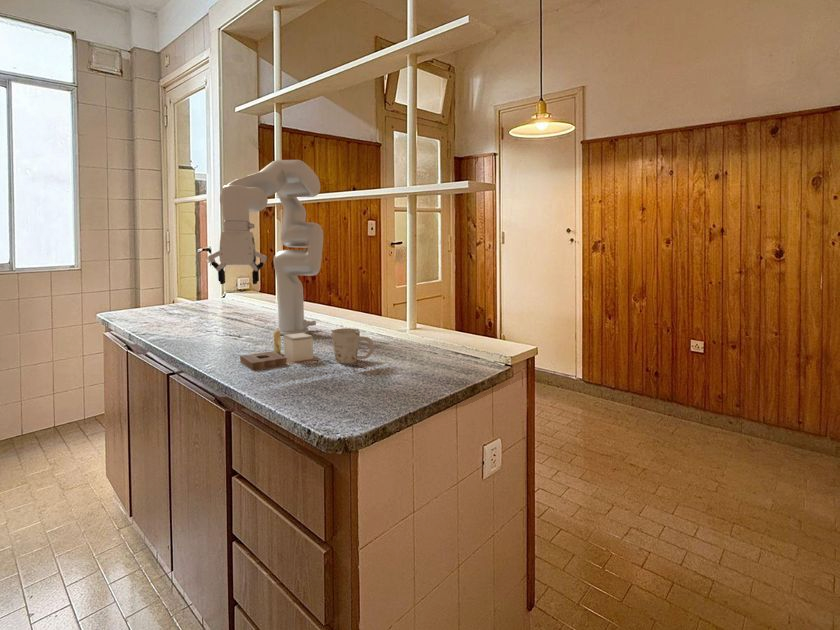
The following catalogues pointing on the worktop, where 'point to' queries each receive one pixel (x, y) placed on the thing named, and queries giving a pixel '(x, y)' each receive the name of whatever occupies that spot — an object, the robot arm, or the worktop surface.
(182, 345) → the worktop surface
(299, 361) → the tile
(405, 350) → the worktop surface
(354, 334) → the mug
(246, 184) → the robot arm
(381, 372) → the worktop surface
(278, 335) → the brass pin
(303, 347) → the block
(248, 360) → the socket tile
